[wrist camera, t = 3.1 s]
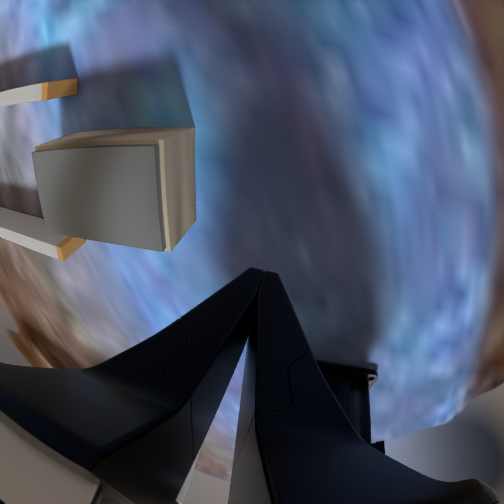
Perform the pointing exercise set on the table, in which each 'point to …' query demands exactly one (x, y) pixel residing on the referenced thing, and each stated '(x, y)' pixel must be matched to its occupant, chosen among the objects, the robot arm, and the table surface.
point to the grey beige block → (119, 185)
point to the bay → (23, 225)
